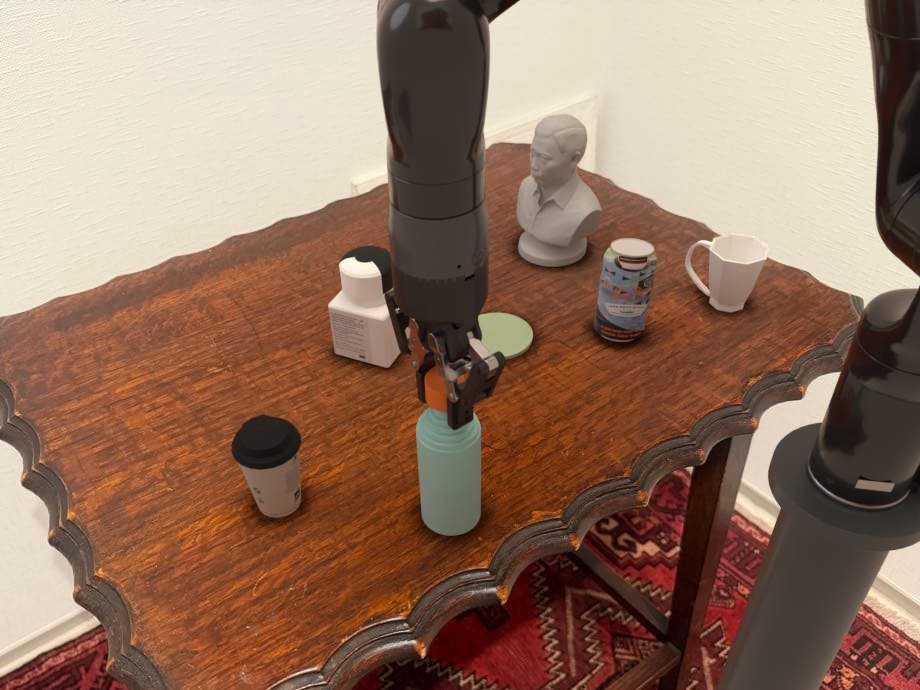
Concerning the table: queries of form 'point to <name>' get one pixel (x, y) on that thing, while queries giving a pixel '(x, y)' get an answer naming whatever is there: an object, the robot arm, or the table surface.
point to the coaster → (505, 334)
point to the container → (364, 308)
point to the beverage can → (625, 289)
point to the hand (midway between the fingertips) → (444, 410)
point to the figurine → (556, 196)
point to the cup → (730, 269)
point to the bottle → (449, 473)
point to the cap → (437, 390)
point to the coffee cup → (270, 463)
